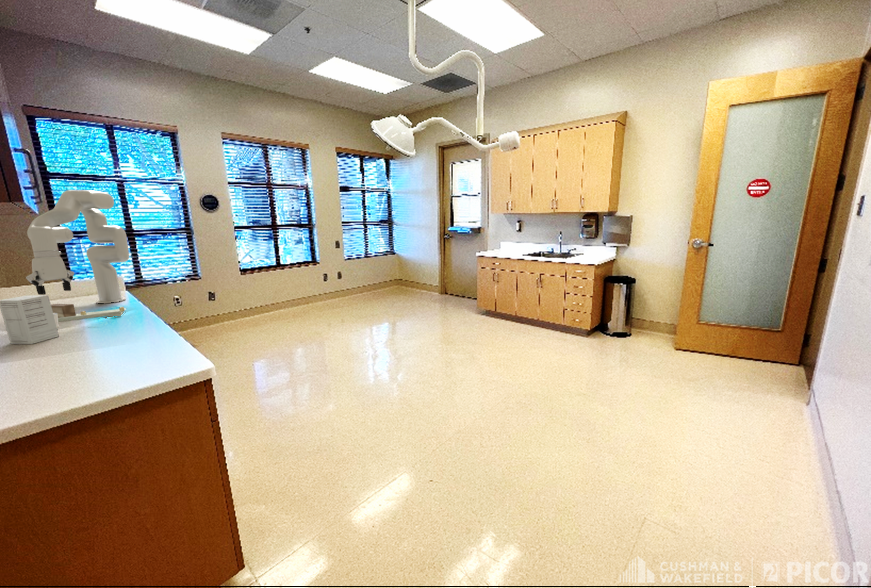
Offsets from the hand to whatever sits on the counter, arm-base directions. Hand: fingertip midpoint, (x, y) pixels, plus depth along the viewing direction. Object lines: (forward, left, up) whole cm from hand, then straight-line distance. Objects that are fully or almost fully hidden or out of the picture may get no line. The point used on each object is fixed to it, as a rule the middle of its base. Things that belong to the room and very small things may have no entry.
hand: (55, 292), depth 158 cm
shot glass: (+20, +1, -13) cm, 24 cm away
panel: (+1, +9, -13) cm, 16 cm away
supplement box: (+34, +1, -13) cm, 37 cm away
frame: (-1, 0, -12) cm, 12 cm away
